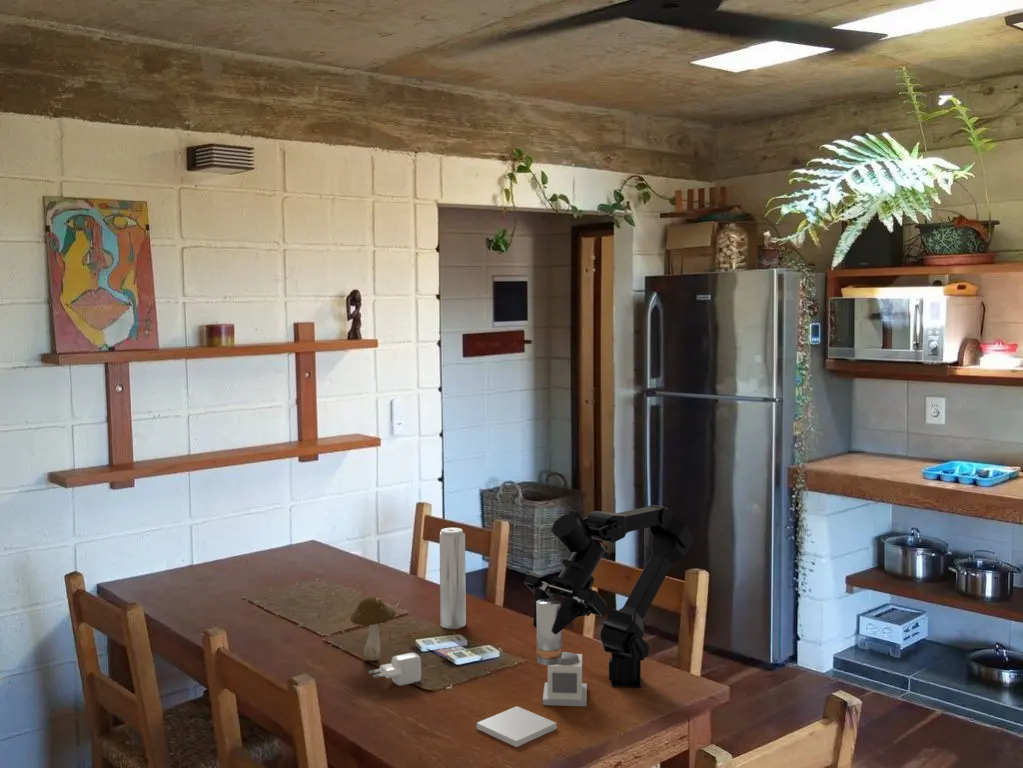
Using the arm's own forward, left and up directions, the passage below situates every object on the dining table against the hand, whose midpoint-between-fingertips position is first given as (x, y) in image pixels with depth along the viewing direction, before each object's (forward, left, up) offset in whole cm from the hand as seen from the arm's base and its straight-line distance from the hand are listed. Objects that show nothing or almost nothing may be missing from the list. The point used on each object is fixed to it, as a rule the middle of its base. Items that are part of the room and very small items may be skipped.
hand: (544, 630), depth 193 cm
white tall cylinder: (+26, -53, -18) cm, 62 cm away
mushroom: (+41, -28, -18) cm, 53 cm away
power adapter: (+33, -14, -18) cm, 40 cm away
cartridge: (-1, -1, -7) cm, 7 cm away
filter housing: (-4, -10, -18) cm, 21 cm away
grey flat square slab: (+5, +6, -18) cm, 19 cm away
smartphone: (+23, -33, -18) cm, 45 cm away
